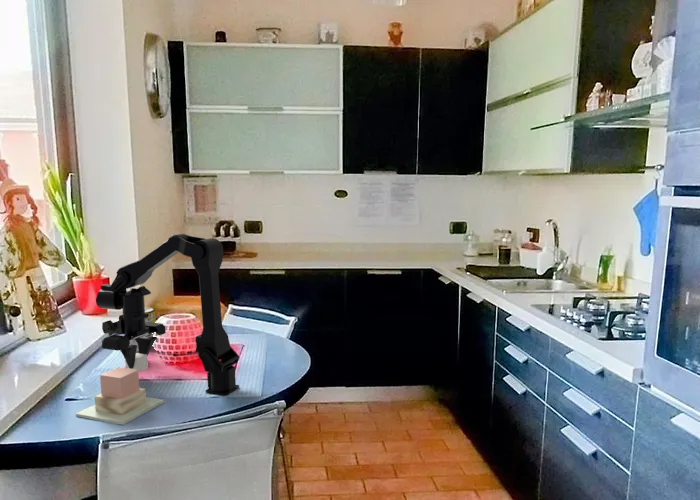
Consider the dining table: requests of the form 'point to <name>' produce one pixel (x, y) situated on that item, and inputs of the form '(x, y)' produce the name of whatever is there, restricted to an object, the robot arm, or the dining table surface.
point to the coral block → (119, 382)
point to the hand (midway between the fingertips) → (136, 365)
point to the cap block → (139, 362)
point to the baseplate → (120, 419)
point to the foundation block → (120, 402)
